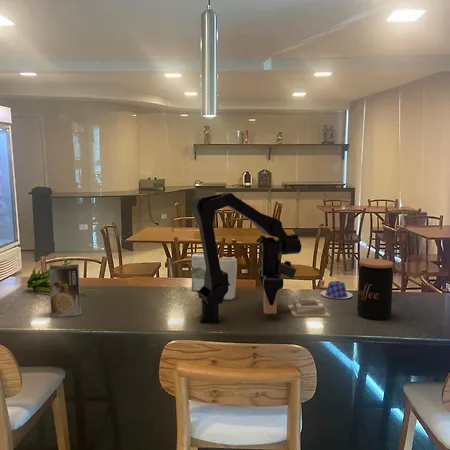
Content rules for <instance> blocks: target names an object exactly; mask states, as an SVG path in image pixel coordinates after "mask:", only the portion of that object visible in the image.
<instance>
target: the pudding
mask: <svg viewBox="0 0 450 450" xmlns="http://www.w3.org/2000/svg"><path fill="white" fill-rule="evenodd" d="M320 295H321V296H323V297H326V298H331V299H349V298H351V297H353V296H354V295H353V293H351V292H349V291H347V289H346V284H345V283H344V282H342V281H337V280H332V281H330V282H328V285H327V288H326V289H325V290H322V291H321V292H320Z"/></svg>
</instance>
